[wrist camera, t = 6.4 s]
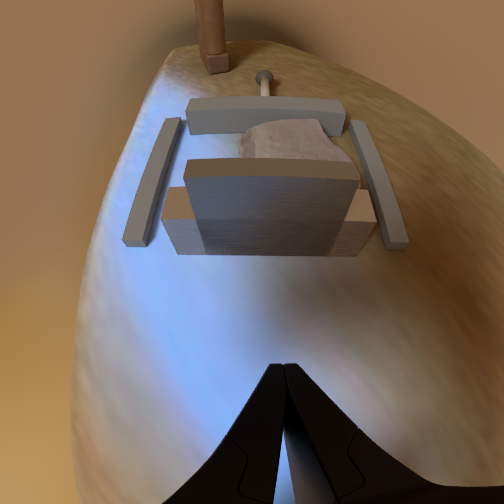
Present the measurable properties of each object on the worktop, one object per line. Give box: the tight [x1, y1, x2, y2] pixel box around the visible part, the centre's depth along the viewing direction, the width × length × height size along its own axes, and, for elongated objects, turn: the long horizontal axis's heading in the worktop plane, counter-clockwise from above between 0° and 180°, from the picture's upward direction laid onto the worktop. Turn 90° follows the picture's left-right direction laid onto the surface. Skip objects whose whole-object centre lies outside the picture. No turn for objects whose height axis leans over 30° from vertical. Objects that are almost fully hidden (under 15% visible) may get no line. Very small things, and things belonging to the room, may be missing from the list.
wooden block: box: [194, 0, 230, 74], centre depth 35 cm, size 4×11×18 cm, turn 16°
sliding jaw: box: [161, 158, 377, 256], centre depth 20 cm, size 3×15×9 cm, turn 89°
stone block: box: [238, 119, 361, 189], centre depth 26 cm, size 12×5×10 cm
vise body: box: [122, 70, 410, 249], centre depth 29 cm, size 29×25×4 cm
